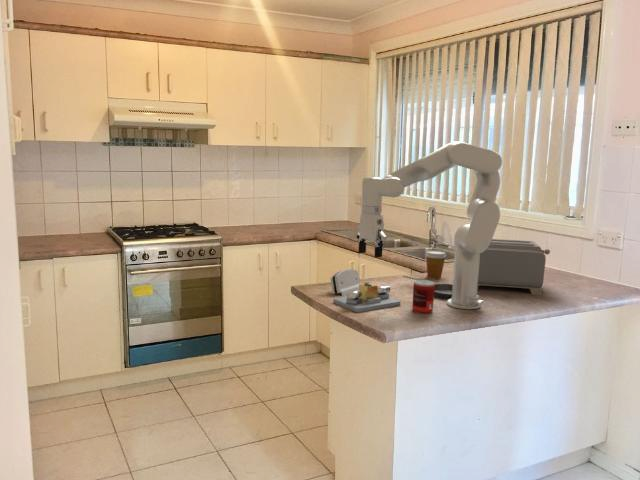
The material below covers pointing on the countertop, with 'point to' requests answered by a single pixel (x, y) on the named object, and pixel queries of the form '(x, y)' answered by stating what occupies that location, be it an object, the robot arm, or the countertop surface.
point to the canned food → (423, 296)
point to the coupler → (368, 291)
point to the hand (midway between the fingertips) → (370, 254)
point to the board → (367, 304)
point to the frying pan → (441, 290)
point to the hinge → (345, 282)
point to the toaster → (513, 265)
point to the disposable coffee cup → (435, 263)
